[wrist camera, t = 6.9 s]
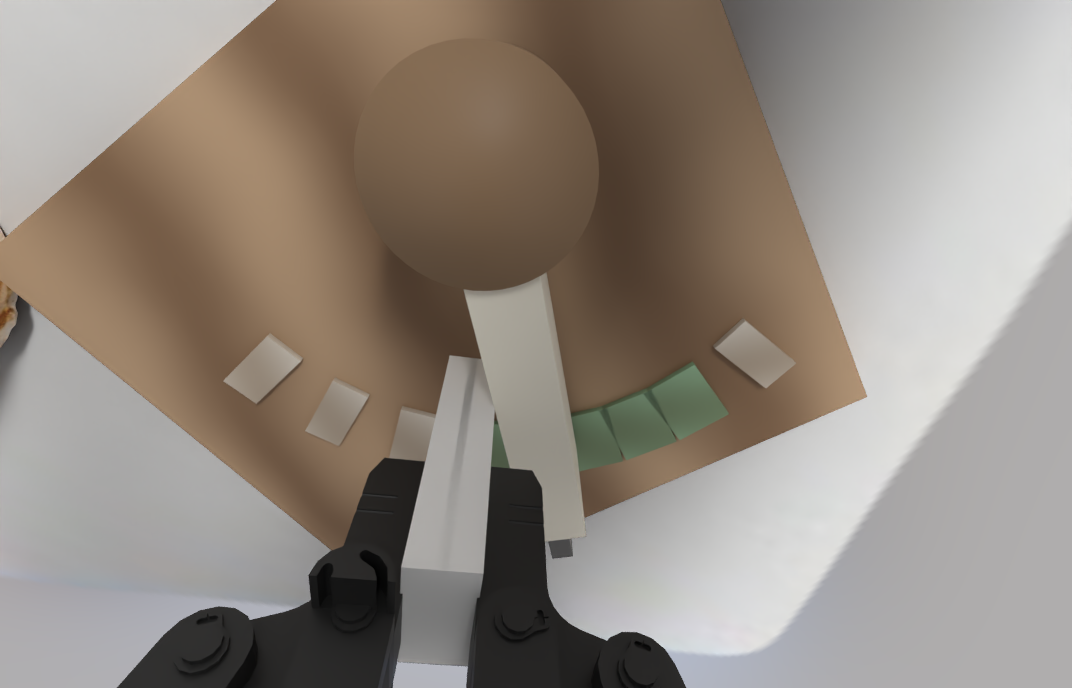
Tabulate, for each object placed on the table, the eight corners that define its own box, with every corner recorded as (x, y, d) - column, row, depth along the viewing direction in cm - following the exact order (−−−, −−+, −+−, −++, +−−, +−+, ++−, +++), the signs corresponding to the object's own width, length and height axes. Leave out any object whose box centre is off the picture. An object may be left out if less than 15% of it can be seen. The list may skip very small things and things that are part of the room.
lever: (378, 61, 12) (315, 66, 8) (567, 23, 12) (583, 13, 8) (496, 478, 18) (487, 578, 15) (619, 461, 18) (640, 560, 15)
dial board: (603, -260, 10) (613, -300, 9) (847, 376, 18) (870, 400, 17) (14, 247, 16) (-29, 264, 14) (399, 575, 23) (391, 604, 22)
